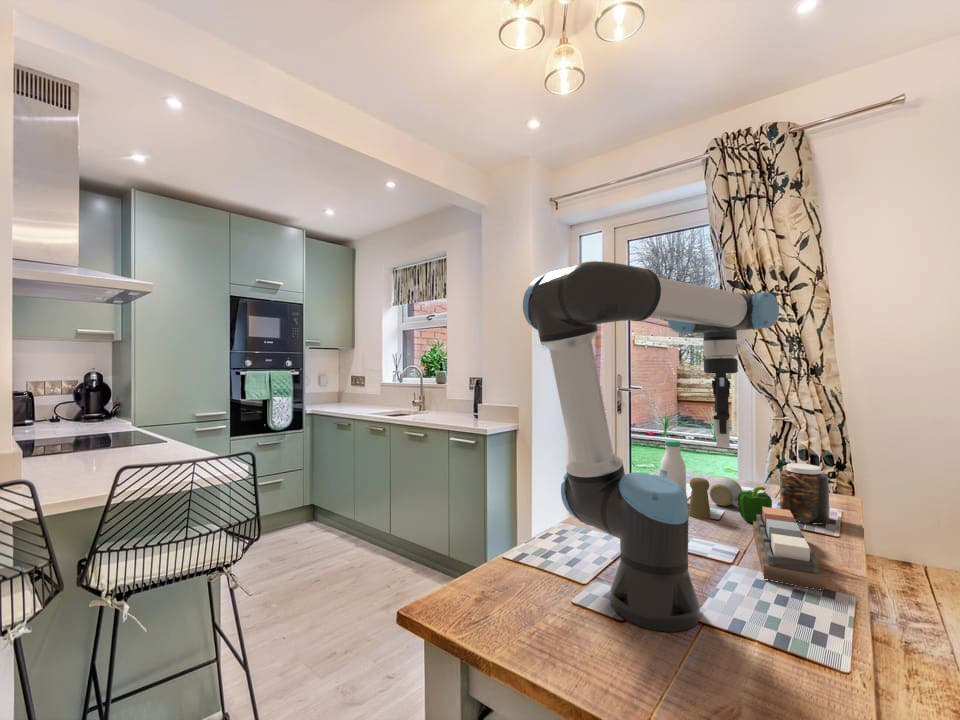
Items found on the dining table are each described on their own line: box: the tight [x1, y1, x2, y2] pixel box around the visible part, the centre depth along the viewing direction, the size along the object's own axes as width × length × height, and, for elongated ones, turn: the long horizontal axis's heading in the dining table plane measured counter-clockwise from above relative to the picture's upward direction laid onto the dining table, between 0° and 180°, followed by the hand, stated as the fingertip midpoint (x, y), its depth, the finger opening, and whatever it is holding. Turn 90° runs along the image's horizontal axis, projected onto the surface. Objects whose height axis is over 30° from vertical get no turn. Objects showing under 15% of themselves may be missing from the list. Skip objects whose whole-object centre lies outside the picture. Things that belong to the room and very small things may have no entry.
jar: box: [779, 462, 830, 524], centre depth 131 cm, size 12×12×15 cm
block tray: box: [752, 514, 825, 591], centre depth 104 cm, size 30×10×5 cm, turn 153°
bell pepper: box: [737, 486, 773, 524], centre depth 128 cm, size 8×8×10 cm
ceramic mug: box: [709, 477, 743, 509], centre depth 143 cm, size 11×8×8 cm
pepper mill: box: [688, 477, 712, 520], centre depth 133 cm, size 6×6×11 cm
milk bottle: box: [659, 439, 687, 493], centre depth 146 cm, size 8×8×20 cm
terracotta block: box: [762, 507, 794, 524], centre depth 114 cm, size 6×6×3 cm
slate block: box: [766, 519, 802, 539], centre depth 104 cm, size 6×6×3 cm
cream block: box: [771, 533, 811, 561], centre depth 95 cm, size 6×6×3 cm
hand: (721, 442), depth 113 cm, fingers open, 13 cm apart
